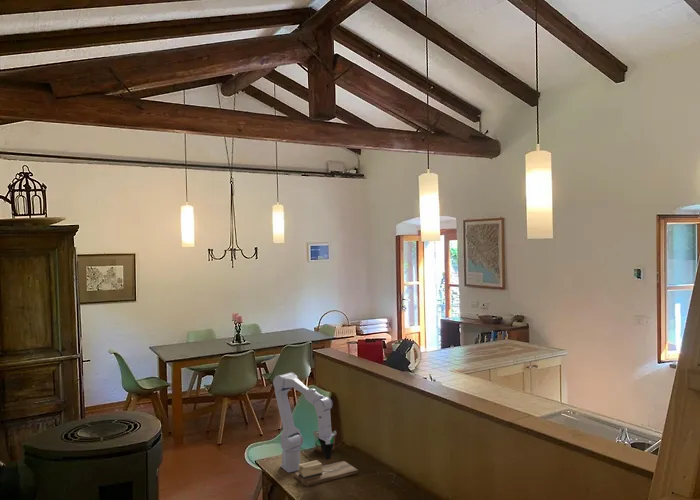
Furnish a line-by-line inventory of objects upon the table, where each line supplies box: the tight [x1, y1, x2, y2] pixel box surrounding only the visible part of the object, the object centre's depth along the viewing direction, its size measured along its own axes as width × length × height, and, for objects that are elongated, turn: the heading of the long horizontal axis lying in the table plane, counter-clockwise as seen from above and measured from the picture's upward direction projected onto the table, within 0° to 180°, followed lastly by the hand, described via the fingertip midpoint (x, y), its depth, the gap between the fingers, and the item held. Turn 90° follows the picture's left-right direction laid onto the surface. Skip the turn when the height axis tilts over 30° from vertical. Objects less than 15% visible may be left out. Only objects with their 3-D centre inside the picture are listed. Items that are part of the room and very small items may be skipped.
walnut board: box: [293, 460, 359, 487], centre depth 247 cm, size 13×26×2 cm, turn 121°
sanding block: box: [298, 459, 323, 479], centre depth 243 cm, size 5×9×5 cm, turn 121°
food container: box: [312, 429, 338, 454], centre depth 277 cm, size 12×6×10 cm, turn 81°
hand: (326, 456), depth 242 cm, fingers open, 7 cm apart
